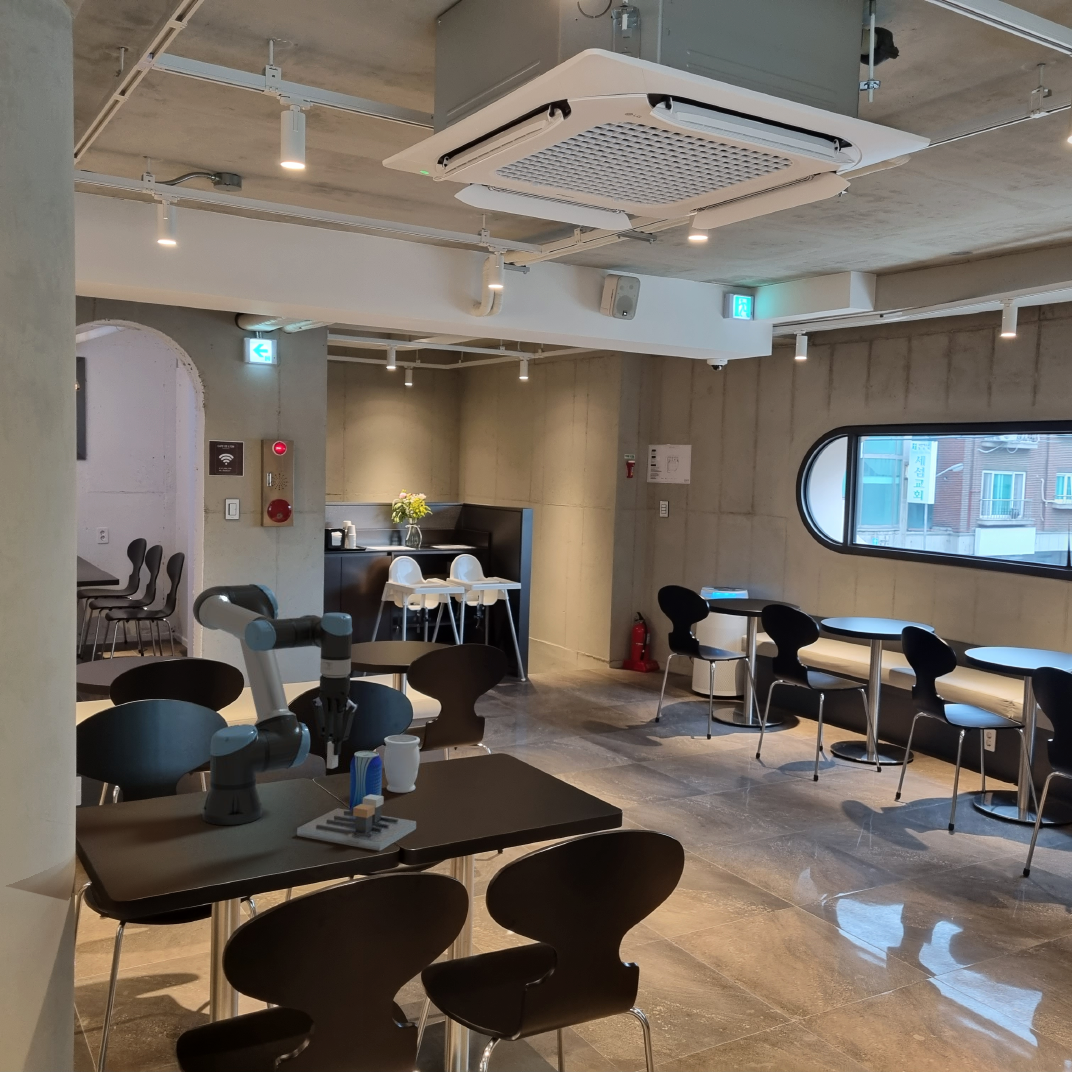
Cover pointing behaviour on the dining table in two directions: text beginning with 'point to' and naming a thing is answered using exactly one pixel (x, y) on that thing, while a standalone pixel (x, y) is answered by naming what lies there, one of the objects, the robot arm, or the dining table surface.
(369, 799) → the fader
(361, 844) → the console
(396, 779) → the jar
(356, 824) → the fader
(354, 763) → the beer can
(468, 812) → the dining table surface
